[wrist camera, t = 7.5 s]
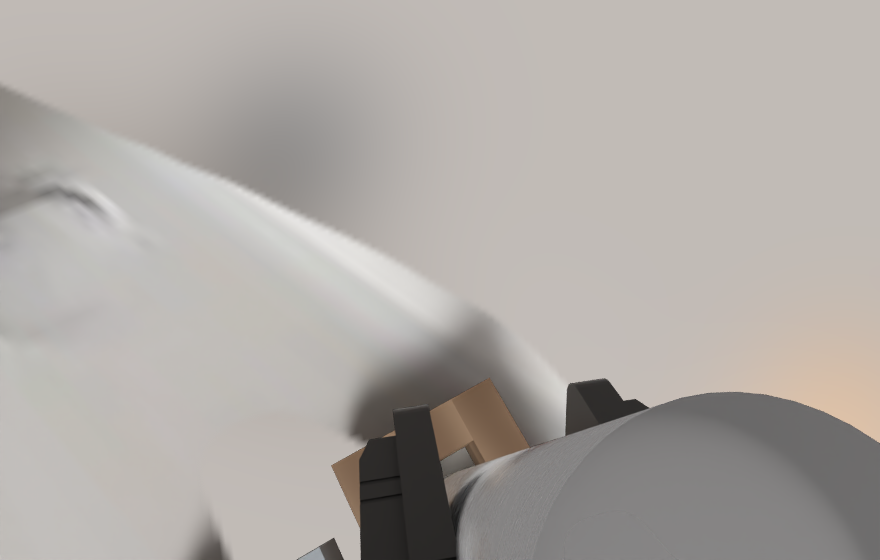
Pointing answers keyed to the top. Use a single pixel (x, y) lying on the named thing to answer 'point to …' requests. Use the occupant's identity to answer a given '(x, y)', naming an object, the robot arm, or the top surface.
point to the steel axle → (680, 488)
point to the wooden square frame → (454, 435)
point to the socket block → (324, 552)
